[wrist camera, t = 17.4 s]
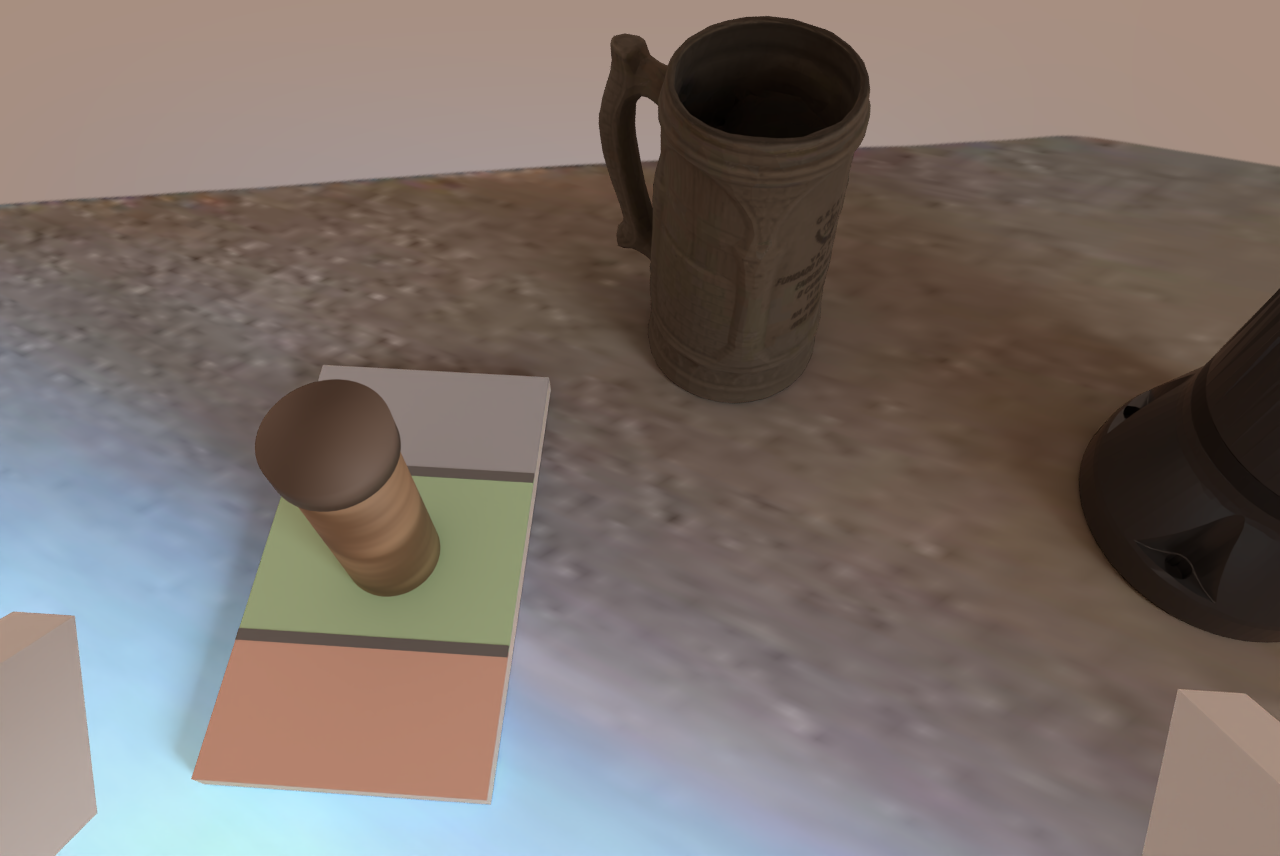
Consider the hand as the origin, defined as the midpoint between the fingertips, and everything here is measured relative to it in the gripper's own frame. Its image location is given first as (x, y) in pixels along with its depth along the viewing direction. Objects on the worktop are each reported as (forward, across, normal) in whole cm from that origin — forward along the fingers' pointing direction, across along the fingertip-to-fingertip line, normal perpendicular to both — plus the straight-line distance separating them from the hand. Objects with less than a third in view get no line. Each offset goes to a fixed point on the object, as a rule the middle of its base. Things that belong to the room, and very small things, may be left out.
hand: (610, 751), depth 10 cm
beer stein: (+48, +2, 0) cm, 48 cm away
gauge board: (+35, -14, -13) cm, 40 cm away
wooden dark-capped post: (+34, -14, -12) cm, 38 cm away
